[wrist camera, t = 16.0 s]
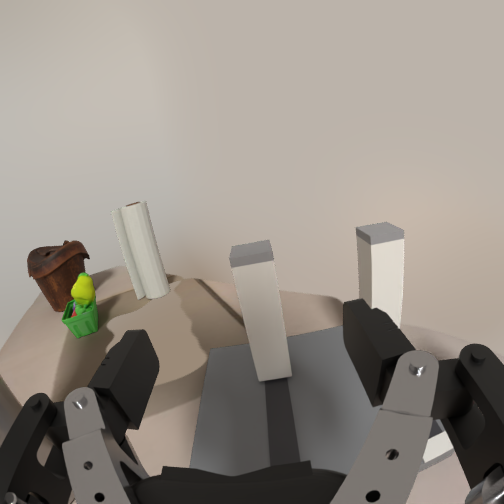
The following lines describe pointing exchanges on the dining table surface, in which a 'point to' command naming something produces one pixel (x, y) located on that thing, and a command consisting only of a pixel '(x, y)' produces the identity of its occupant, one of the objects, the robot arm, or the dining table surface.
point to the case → (57, 271)
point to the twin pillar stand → (304, 388)
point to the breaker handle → (261, 308)
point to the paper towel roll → (140, 250)
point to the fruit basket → (82, 308)
